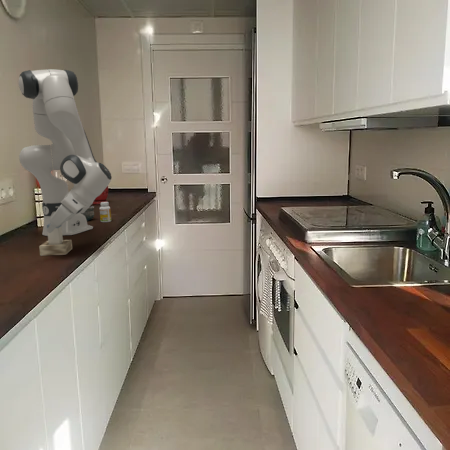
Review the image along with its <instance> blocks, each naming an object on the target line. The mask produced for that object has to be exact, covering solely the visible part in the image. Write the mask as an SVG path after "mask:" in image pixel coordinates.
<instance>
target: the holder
mask: <svg viewBox="0 0 450 450" xmlns="http://www.w3.org/2000/svg"><path fill="white" fill-rule="evenodd" d="M38 247H39V256H40V257H42V256H43V257H44V256H63V255H68V253H69V252H70V251H71V250H73V241H72V239H63V244H60V245H49V243H48V240H46V241H44V242H43V243H42V244H41V245H39V246H38Z"/></svg>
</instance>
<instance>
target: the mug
mask: <svg viewBox="0 0 450 450" xmlns="http://www.w3.org/2000/svg"><path fill="white" fill-rule="evenodd" d="M94 208H95V206H93V205H92V206H91V205H90V207H89V208H88V209H87V210H86V211H85V212H84V213H81V214H83V215H84V216H85V217H86V220H87V222H88V221H91V220H92V219H93V218H94V217H95V211H94Z"/></svg>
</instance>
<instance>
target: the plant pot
mask: <svg viewBox="0 0 450 450" xmlns="http://www.w3.org/2000/svg"><path fill="white" fill-rule="evenodd" d="M108 197H109V185H108V186H107V187H106V189H105V190H104V191H103V192H102V193H101V194H100V195H99V196H98V197H96V198H95V200H94V202H93V203H92V204H91V205H100V203H101V202H108V200H107V199H108Z"/></svg>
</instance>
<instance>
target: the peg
mask: <svg viewBox="0 0 450 450" xmlns="http://www.w3.org/2000/svg"><path fill="white" fill-rule="evenodd" d="M50 224H51V223H49V224H48V225H47V228H48V227H49V226H50ZM47 234H48V236H47V241H48V243H49V245H60V244H63V240H64V237H63V235H62V227H61V225H60V226H59V227H56V228H55V229H54V230H53V231H52V232H51V233H48V232H47Z"/></svg>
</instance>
